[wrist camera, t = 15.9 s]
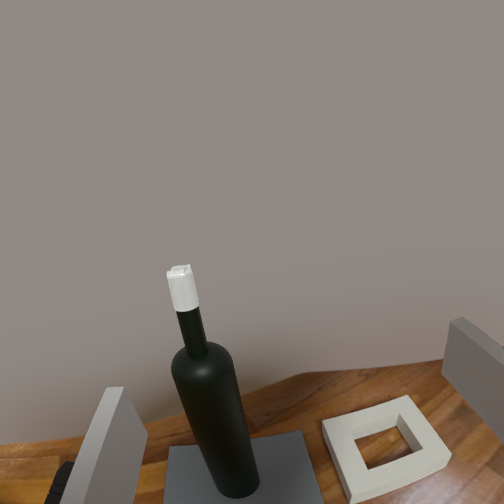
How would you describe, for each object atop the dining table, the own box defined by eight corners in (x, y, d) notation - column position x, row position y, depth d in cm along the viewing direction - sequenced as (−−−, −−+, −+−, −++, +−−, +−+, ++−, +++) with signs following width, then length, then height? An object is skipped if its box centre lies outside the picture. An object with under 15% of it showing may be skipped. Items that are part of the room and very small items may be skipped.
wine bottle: (241, 460, 37) (191, 253, 29) (269, 482, 32) (227, 262, 24) (207, 481, 33) (134, 272, 25) (234, 506, 29) (161, 287, 21)
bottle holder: (404, 407, 41) (407, 394, 40) (445, 466, 28) (451, 454, 27) (322, 433, 40) (322, 420, 40) (349, 505, 27) (351, 495, 26)
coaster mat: (301, 433, 41) (301, 429, 41) (327, 517, 26) (327, 515, 26) (171, 449, 40) (169, 446, 40) (162, 534, 25) (160, 532, 25)
